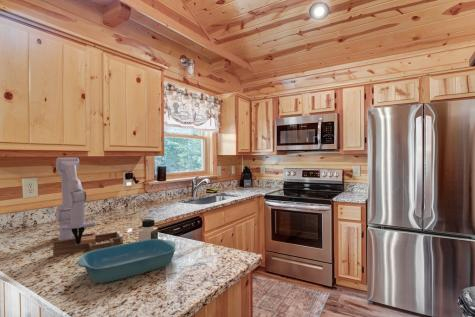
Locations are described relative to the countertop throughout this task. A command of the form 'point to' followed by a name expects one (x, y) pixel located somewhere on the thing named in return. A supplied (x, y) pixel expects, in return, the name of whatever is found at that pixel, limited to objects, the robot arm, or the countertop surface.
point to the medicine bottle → (148, 230)
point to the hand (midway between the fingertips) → (78, 243)
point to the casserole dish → (127, 259)
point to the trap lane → (70, 246)
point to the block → (88, 239)
